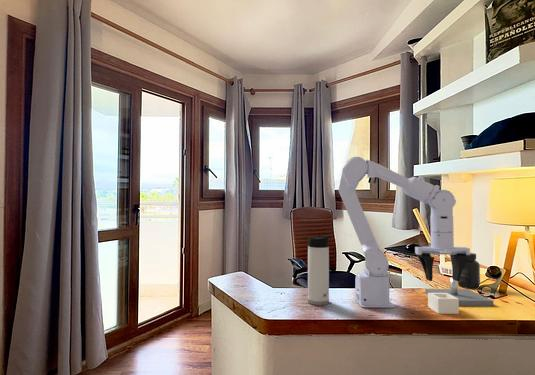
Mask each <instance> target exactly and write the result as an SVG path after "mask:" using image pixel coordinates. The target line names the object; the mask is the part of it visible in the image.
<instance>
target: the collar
mask: <svg viewBox="0 0 535 375" xmlns="http://www.w3.org/2000/svg"><path fill="white" fill-rule="evenodd" d="M427 307H428V308H430V310H432V311H434V312H435V313H437V314H447V315H449V314H450V315H453V314H455V315H456V314H458V315H459V313H460V312H459V311H460V310H459V309H460V306H459V299H458V298H456V297H454V296H452V295H450V294H448V293H428V295H427Z"/></svg>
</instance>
